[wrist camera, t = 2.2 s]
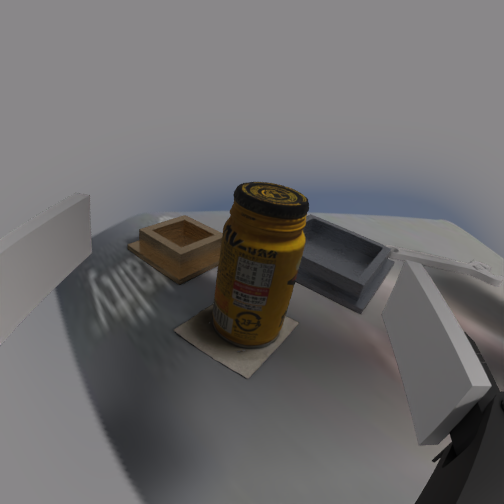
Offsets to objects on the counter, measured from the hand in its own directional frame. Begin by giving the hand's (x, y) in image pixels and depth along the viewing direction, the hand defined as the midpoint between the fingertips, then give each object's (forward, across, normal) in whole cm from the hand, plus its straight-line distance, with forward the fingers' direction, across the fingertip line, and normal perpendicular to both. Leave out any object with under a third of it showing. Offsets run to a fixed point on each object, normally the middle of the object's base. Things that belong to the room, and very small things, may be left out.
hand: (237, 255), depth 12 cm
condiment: (+10, 0, -12) cm, 16 cm away
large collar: (+26, +10, -12) cm, 30 cm away
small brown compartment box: (+21, -8, -12) cm, 25 cm away
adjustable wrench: (+33, +32, -12) cm, 47 cm away
